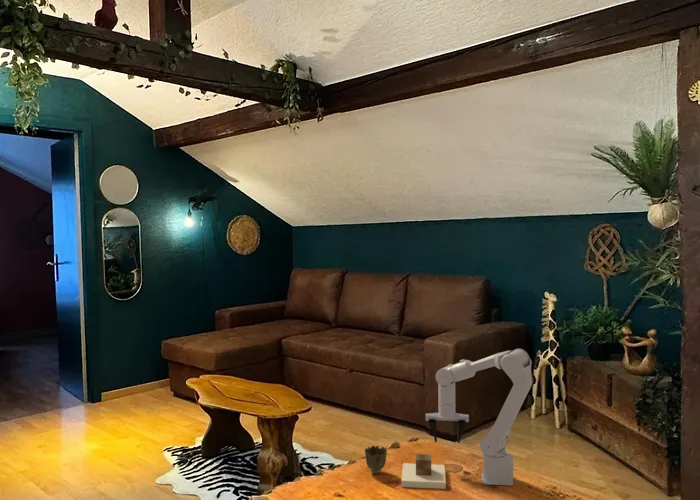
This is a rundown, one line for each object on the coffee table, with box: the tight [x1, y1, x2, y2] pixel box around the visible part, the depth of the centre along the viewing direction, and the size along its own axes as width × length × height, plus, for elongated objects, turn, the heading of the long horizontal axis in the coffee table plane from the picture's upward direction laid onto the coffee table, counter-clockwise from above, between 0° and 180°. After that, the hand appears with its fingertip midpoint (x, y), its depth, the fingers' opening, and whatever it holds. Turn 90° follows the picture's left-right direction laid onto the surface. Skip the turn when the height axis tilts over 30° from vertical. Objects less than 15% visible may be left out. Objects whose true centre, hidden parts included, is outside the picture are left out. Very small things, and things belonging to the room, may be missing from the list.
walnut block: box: [415, 453, 432, 476], centre depth 200 cm, size 5×5×5 cm
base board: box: [400, 462, 447, 490], centre depth 200 cm, size 14×14×2 cm
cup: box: [364, 445, 388, 475], centre depth 204 cm, size 8×7×8 cm
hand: (447, 441), depth 207 cm, fingers open, 7 cm apart
